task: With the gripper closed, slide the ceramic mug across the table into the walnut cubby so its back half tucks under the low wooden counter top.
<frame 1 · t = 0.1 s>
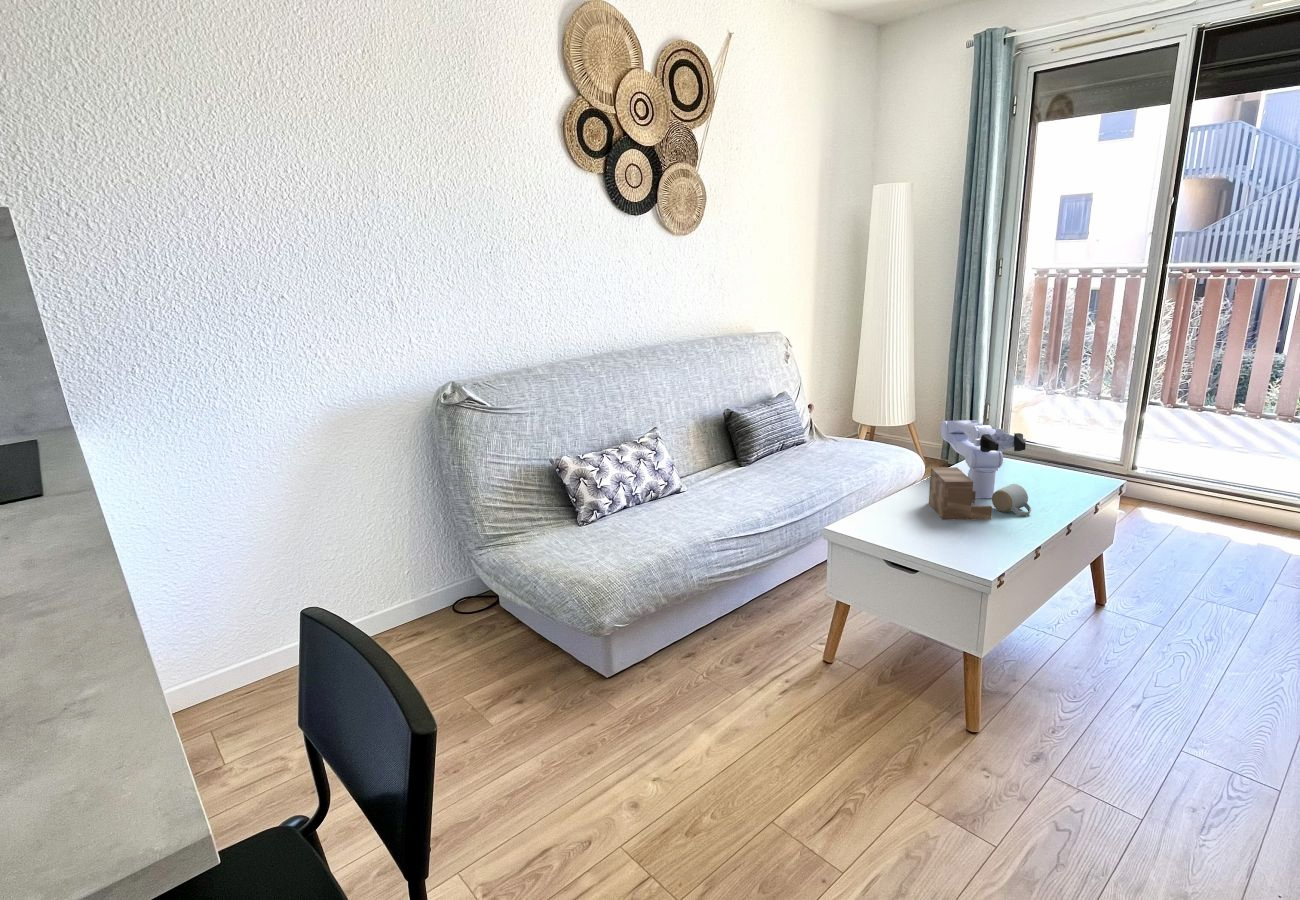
hand: (1010, 446, 208), 22 cm above the table, tool horizontal, fingers open, 7 cm apart
ceramic mug: (1012, 511, 217), on the table
under counter cubby: (958, 510, 219), on the table
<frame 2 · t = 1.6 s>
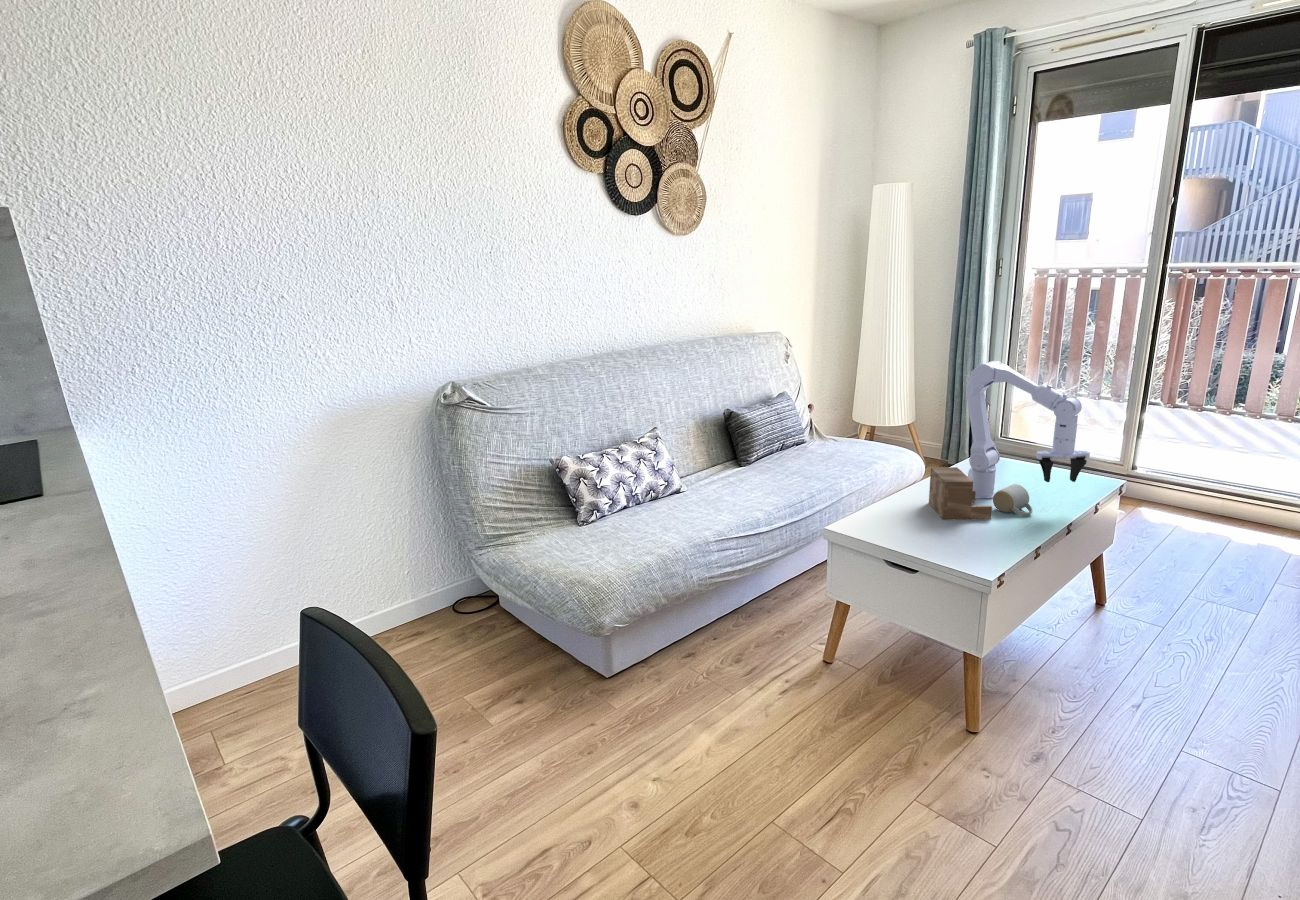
hand: (1059, 481, 213), 9 cm above the table, tool pointing down, fingers open, 7 cm apart
nothing on the table moved.
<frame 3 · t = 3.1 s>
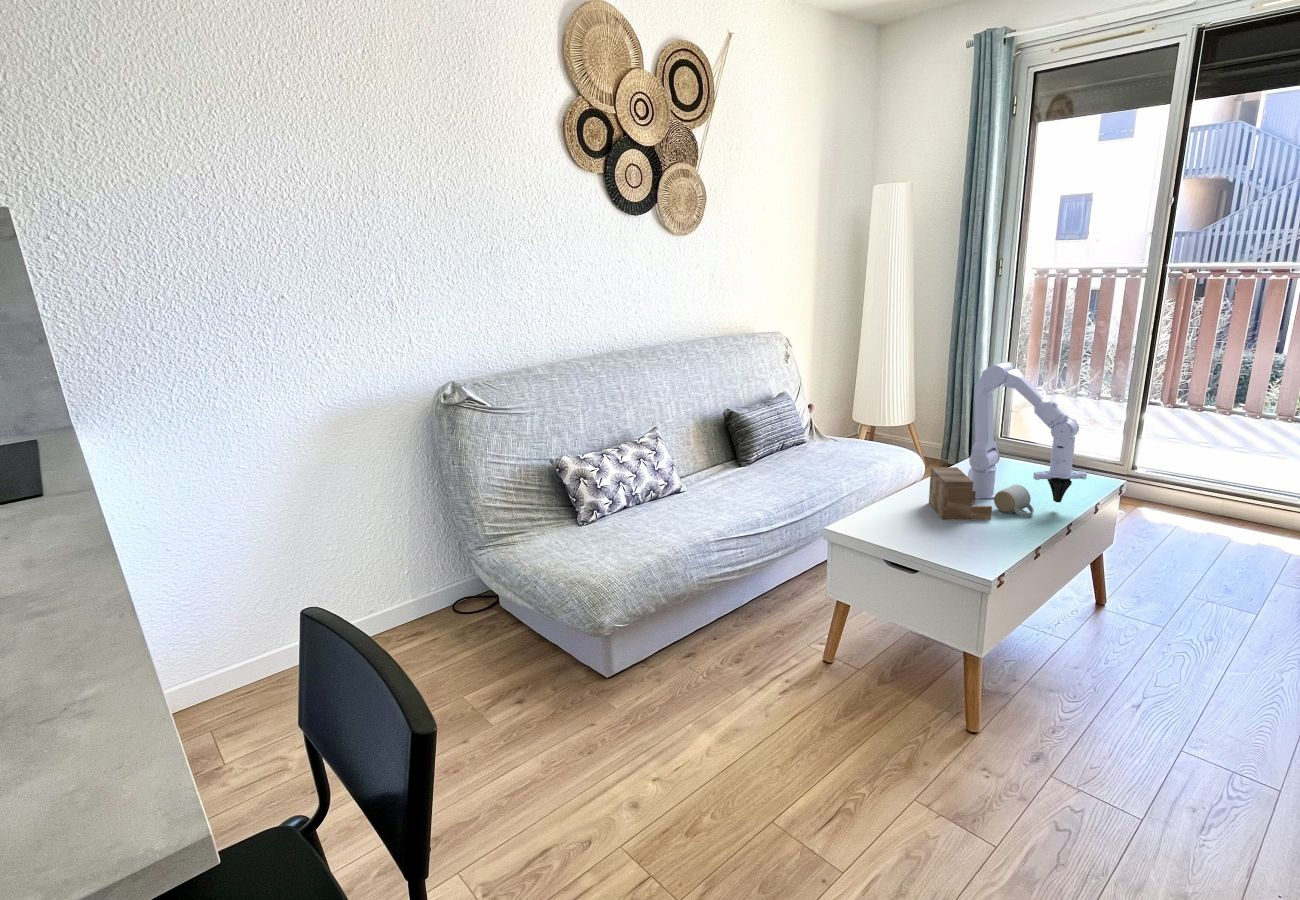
hand: (1057, 501, 215), 3 cm above the table, tool pointing down, fingers closed
nothing on the table moved.
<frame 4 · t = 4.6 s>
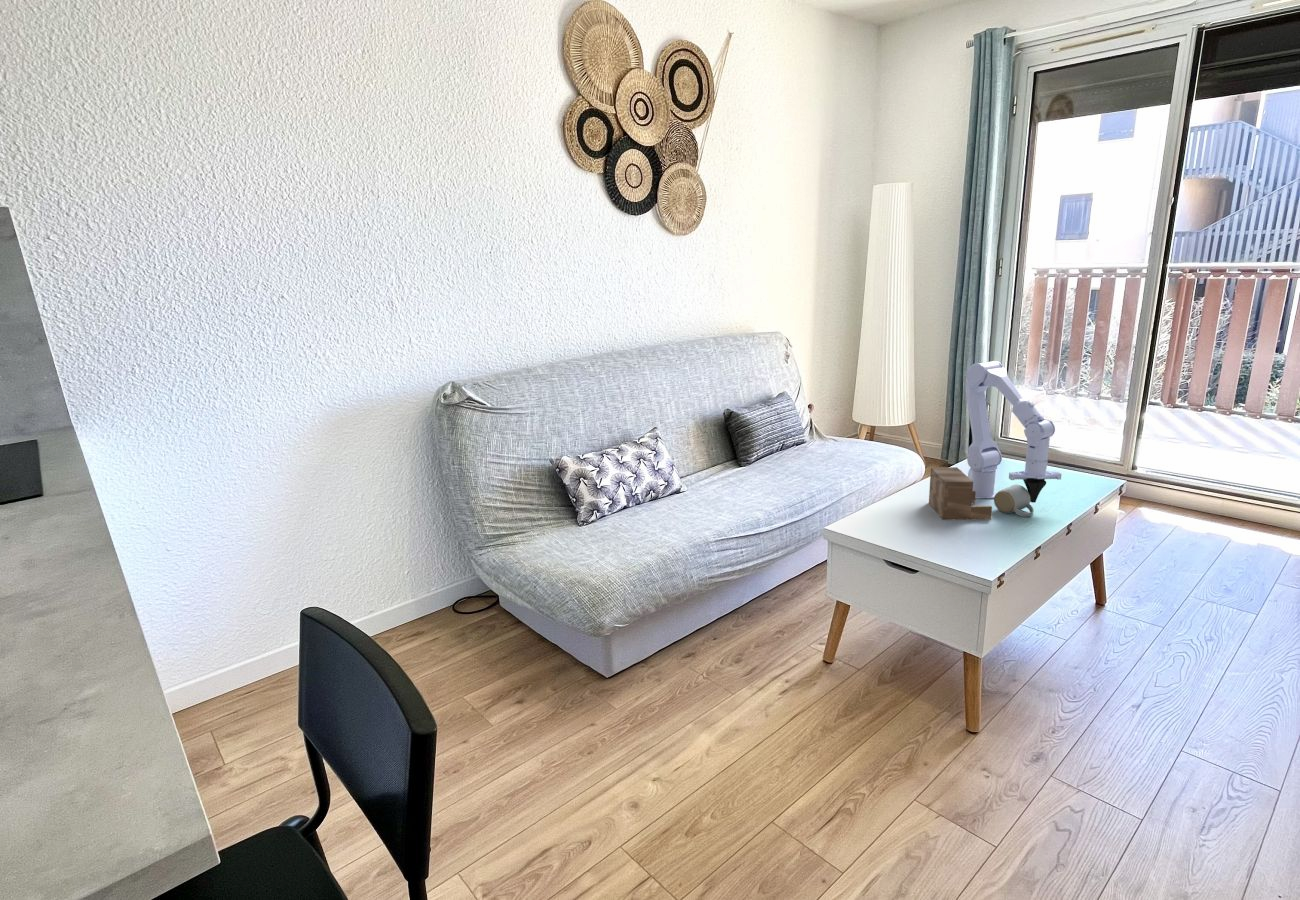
hand: (1032, 501, 216), 3 cm above the table, tool pointing down, fingers closed
ceramic mug: (1014, 512, 216), on the table, touching gripper
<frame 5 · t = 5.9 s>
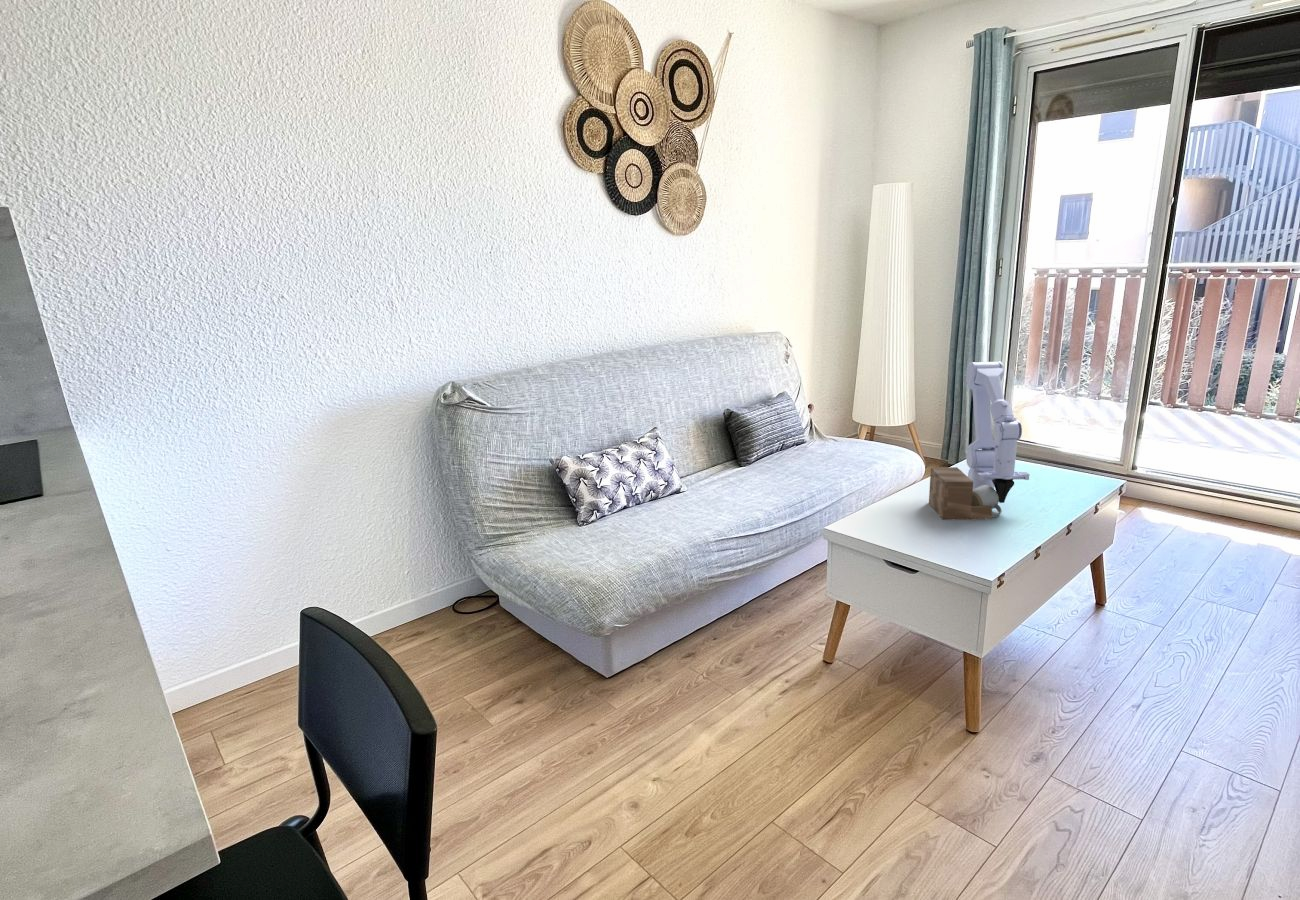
hand: (1000, 501, 217), 3 cm above the table, tool pointing down, fingers closed
ceramic mug: (983, 512, 217), on the table, touching gripper
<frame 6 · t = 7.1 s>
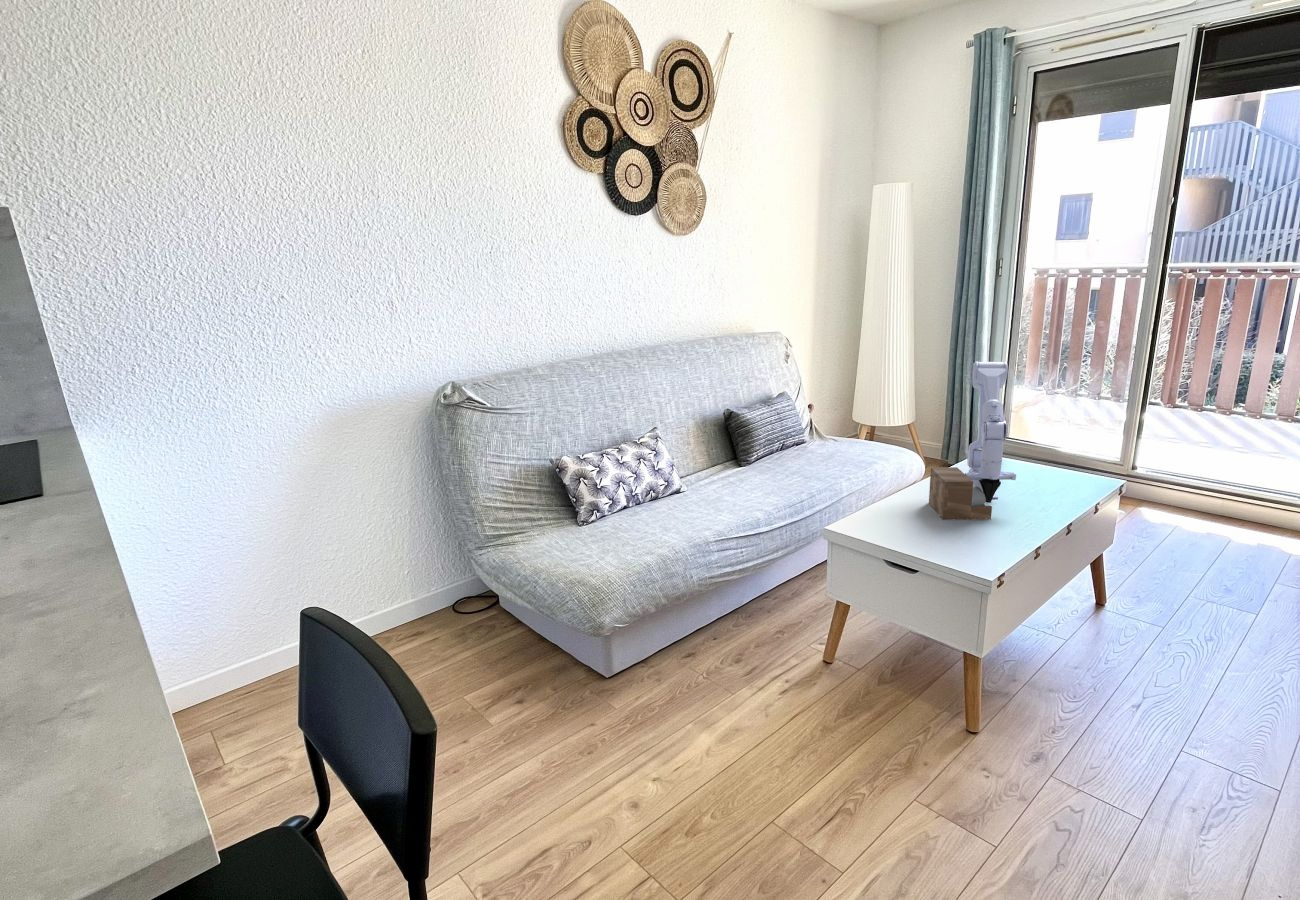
hand: (987, 501, 217), 3 cm above the table, tool pointing down, fingers closed
ceramic mug: (970, 512, 217), on the table, touching gripper
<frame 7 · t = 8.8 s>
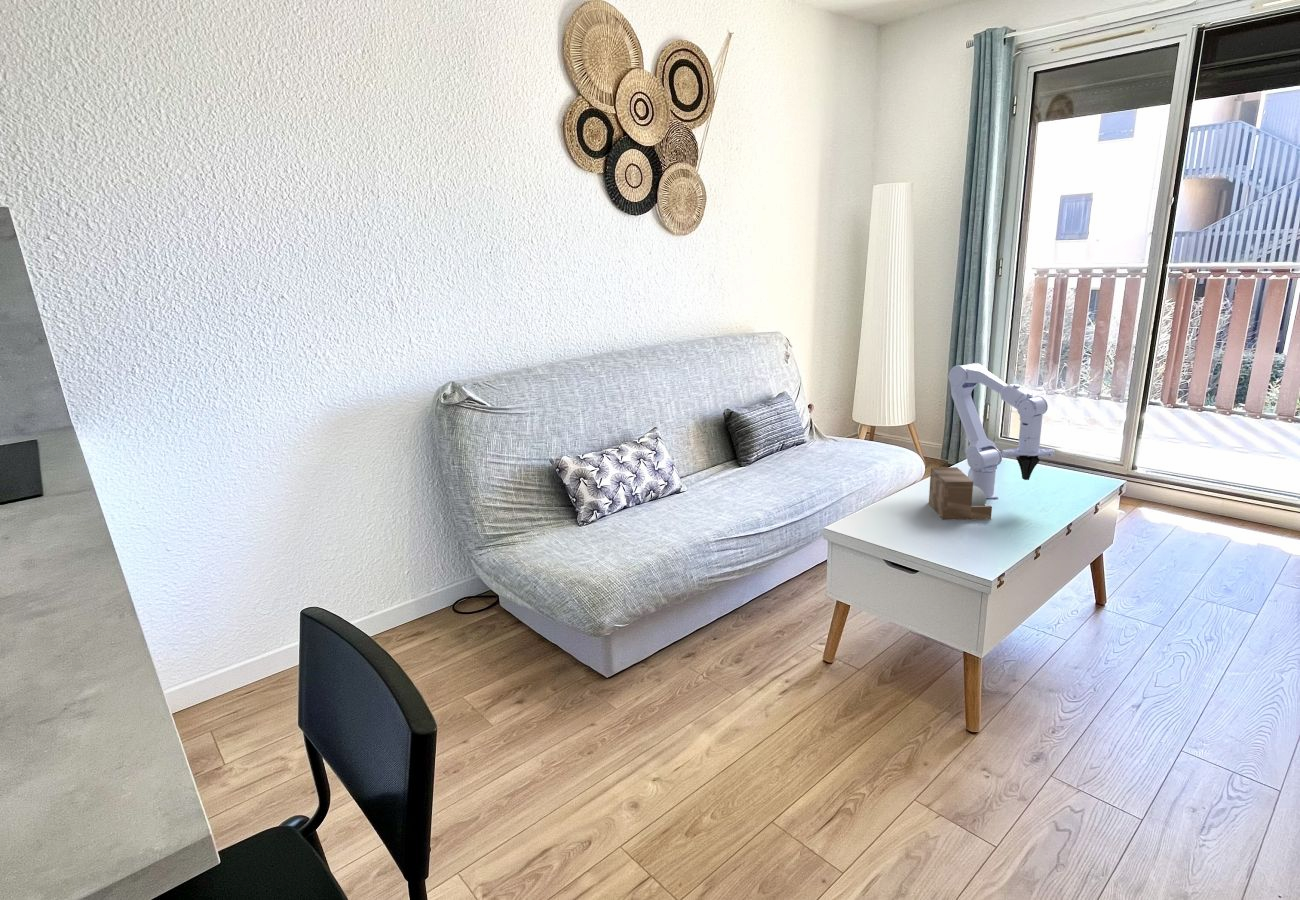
hand: (1025, 479, 216), 9 cm above the table, tool pointing down, fingers closed
ceramic mug: (970, 513, 217), on the table
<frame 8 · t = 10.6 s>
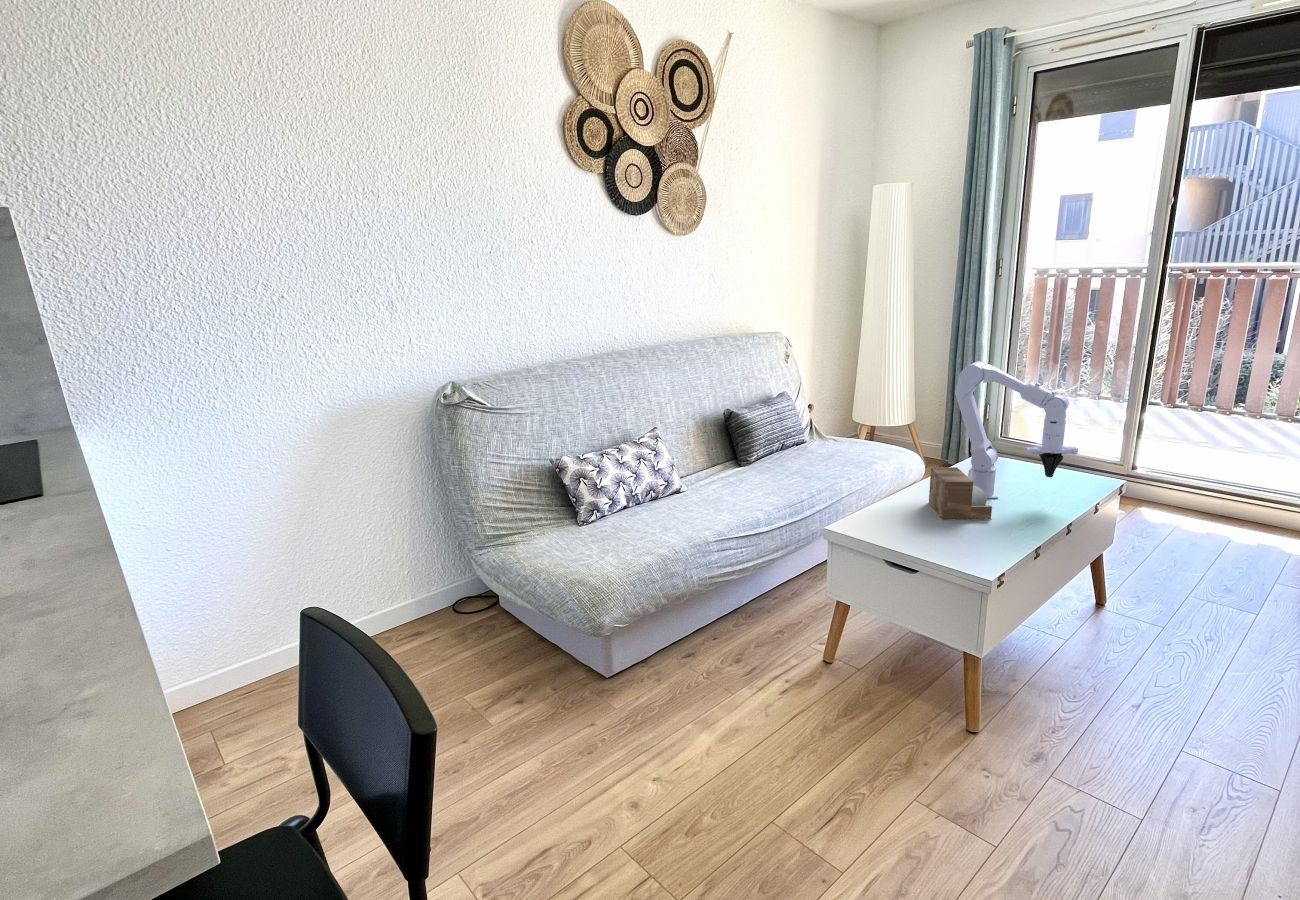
hand: (1048, 476, 218), 9 cm above the table, tool pointing down, fingers closed
nothing on the table moved.
at the end: ceramic mug inside the target area (3.0 cm from its centre), on the table; ceramic mug tilted 1° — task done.
